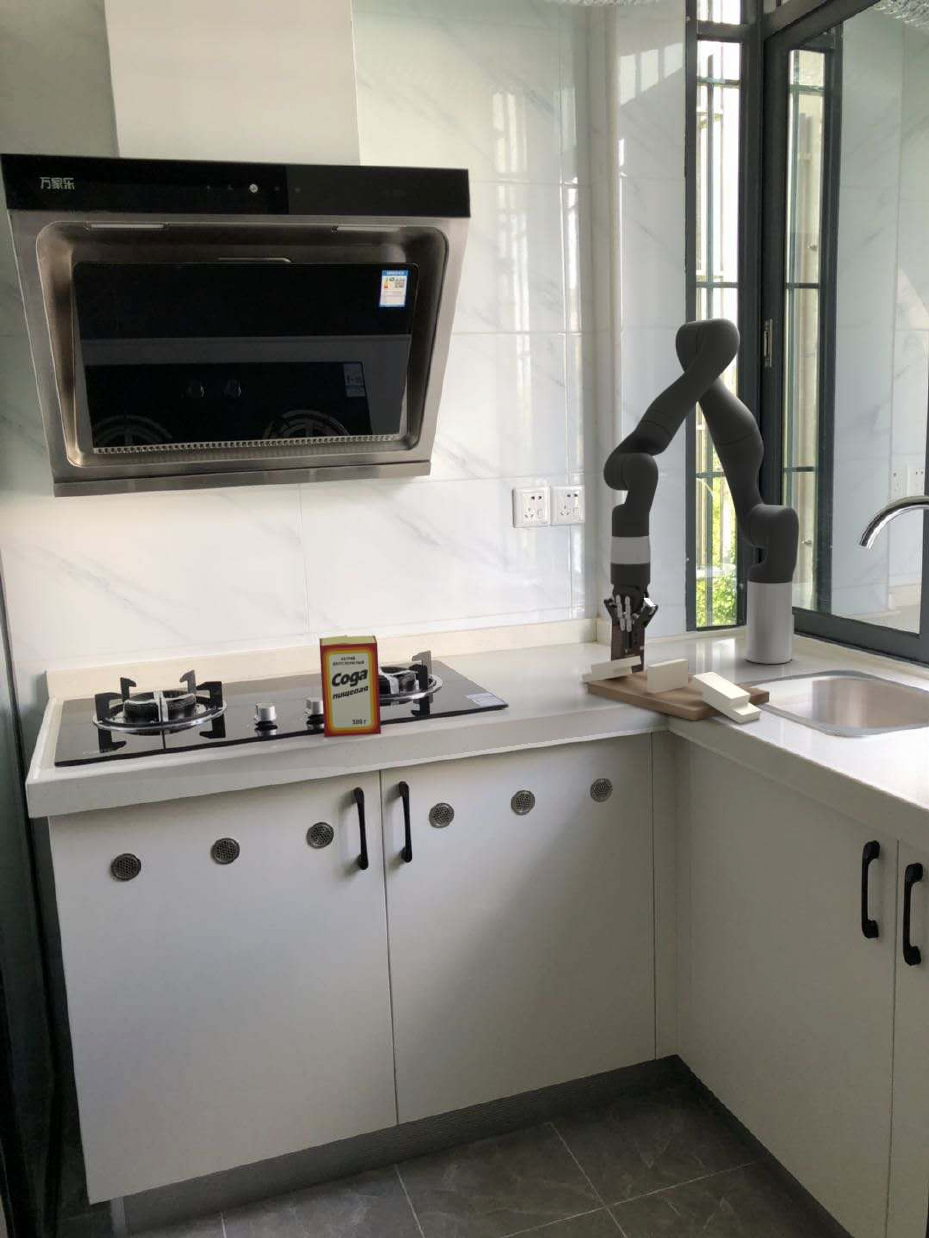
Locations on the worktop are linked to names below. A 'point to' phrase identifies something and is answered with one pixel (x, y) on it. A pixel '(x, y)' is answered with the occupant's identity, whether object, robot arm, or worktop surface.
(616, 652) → the box
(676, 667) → the domino
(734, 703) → the domino
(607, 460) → the robot arm
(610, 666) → the domino
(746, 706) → the domino
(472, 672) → the worktop surface
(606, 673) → the domino
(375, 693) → the baking soda box
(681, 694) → the cutting board
